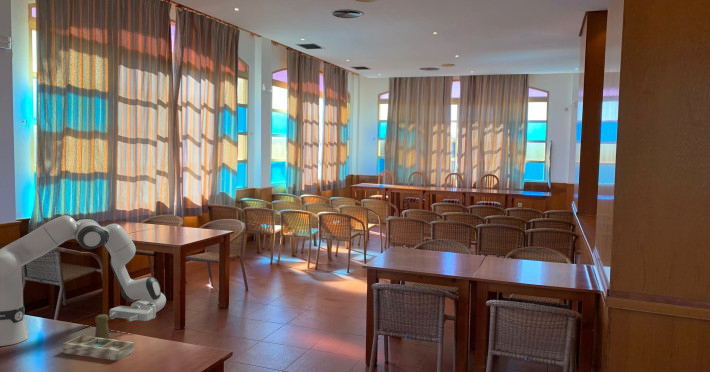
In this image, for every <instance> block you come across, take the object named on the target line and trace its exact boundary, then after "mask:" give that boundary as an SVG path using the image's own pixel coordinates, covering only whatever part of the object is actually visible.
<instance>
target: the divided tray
mask: <svg viewBox="0 0 710 372" xmlns="http://www.w3.org/2000/svg"><path fill="white" fill-rule="evenodd" d="M62 346H63V347H62V350H63V351H62V352H63V354H68V355H73V356H74V355H77V356H82V357H88V358H89V357H90V358H97V359H102V360H103V359H104V360H109V359H110V361H121V360H122V359H124V358H126V357H128V356H130V355H132V354H134V353H135V342H134V341H126V340H120V339H119V340H118V339H113V338H112V339H111V338H110V339H105V338H97V337H95V336H89V335H88V336H87V335H79V336H77V337H74V338H72V339H70V340H68V341H65V342H63V343H62ZM129 354H130V355H129Z"/></svg>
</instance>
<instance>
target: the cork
mask: <svg viewBox="0 0 710 372" xmlns="http://www.w3.org/2000/svg"><path fill="white" fill-rule="evenodd" d="M109 320H110V316H109V314H105V313H104V314H98V315H96V316H95V319H94V321H95V323H96V324H95V325H96V327H95V333H94V337H97V338H105V339H111V337H110V333H109V332H110V331H109V325H108V322H109Z"/></svg>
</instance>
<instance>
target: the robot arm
mask: <svg viewBox="0 0 710 372" xmlns="http://www.w3.org/2000/svg"><path fill="white" fill-rule="evenodd" d="M69 240H76V241H77V243H78V244H79V245H80V246H81V247H83V248H84V249H87V250H93V249H94V250H95V249H96V248H99V247H102V246H103V247H105V248H106V250H107V251H108V253H109V255H110V257H111V258H110V261H109V265H110V267H111V270H112V272H113V274H114V277H115V279H116V281H117V283H118V285H119V288H120V292H121V296H122V297H123V299H124V300H126V301H127V302H132V303H131V305H130V306H128V305H127V306H126V305H118V306H116V307H113V308H110V309H109V314H108V315H109V320H115V319H122V320H123V319H124V320H127V322H133V321H141V322H142V321H143V322H148V321H151V320H153V319H154V320H155V319H156V317H157V312H159V311H161V310H162V309H163V308H164V307H165V305H166V302H167V298H166V295H165V294H164V293H163V292H162V289H161V284H160V282H159V281H158V280H157V279H156V277H153V276H149V277H143V278H139V279H132V278H131V277H130V275H129V273H128V269H127V268H126V265H127V264H128V263H129V262H130V261H131V260H132V259H133V258H134V257H135V254H136V251H137V249H136V248H137V247H136V246H135V243H134V241H133V239H132V238H131V237H130V235H129V234H128V233H127V231H126V230H125V229H124V228H123V227H122V226H121V225H120V224H119V223H109V224H107V225H106V226H101V225H100V224H99V223H98V222H97V221H96V220H95V219H93V218H89V217H85V218H77V219H75V218H73V217H72V216H70V215H68V214H67V215H66V214H65V215H60V216H59V217H56V218H54V219H51V220H49V221H47V222H45V223H44V224H42V225H41V226H39V227H37V228H36V229H33V230H32V231H31V232H28V233H27V234H26V235H24V236H22V237H20V238H18V239H16V240H14V241H12V242H10V243H8V244H7V245H5V246H3V247H1V248H0V347H4V346H6V347H7V346H10V345H16V344H18V343H21V342H23V341H26V340H28V339H29V334H30V331H29V330H28V327H27V326H28V325H27V321H26V320H27V319H26V316H25V310H26V309H25V305H24V291H23V290H24V287H23V273H22V272H23V271H22V267H24V266H25V265H27V264H29V263H31V262H32V261H35V260H36V259H39V258H41V257H43V256H45V255H46V254H48V253H49V252H52V250H54V249H56V248H58V247H59V246H60V245H62V244H64V243H65V242H67V241H69Z"/></svg>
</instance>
